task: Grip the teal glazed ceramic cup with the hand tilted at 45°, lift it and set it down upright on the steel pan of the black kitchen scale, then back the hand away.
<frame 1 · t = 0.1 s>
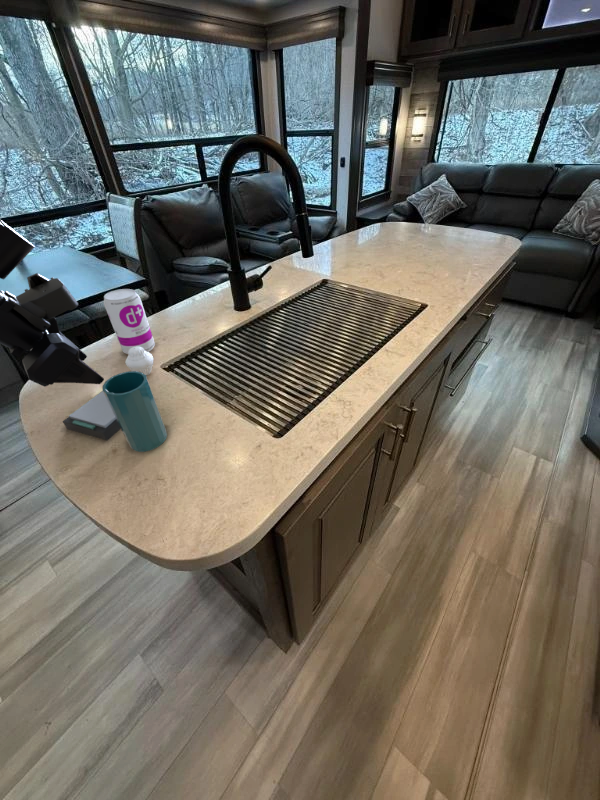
hand: (93, 369, 54), 15 cm above the worktop, tool tilted 35°, fingers open, 9 cm apart
cup: (148, 438, 62), on the worktop
scale: (110, 415, 68), on the worktop
supplement can: (139, 349, 89), on the worktop
white frosted cupcake: (144, 373, 80), on the worktop
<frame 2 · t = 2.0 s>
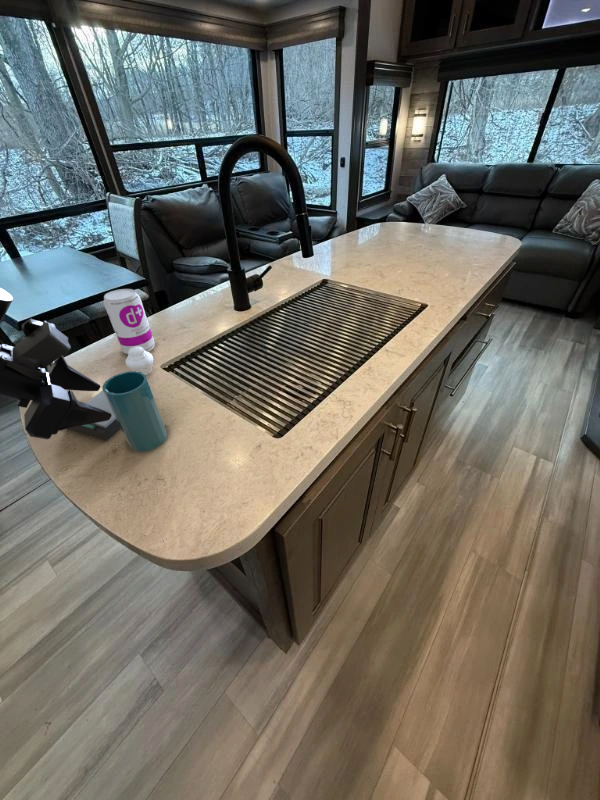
hand: (104, 401, 54), 11 cm above the worktop, tool tilted 45°, fingers open, 9 cm apart
nothing on the worktop moved.
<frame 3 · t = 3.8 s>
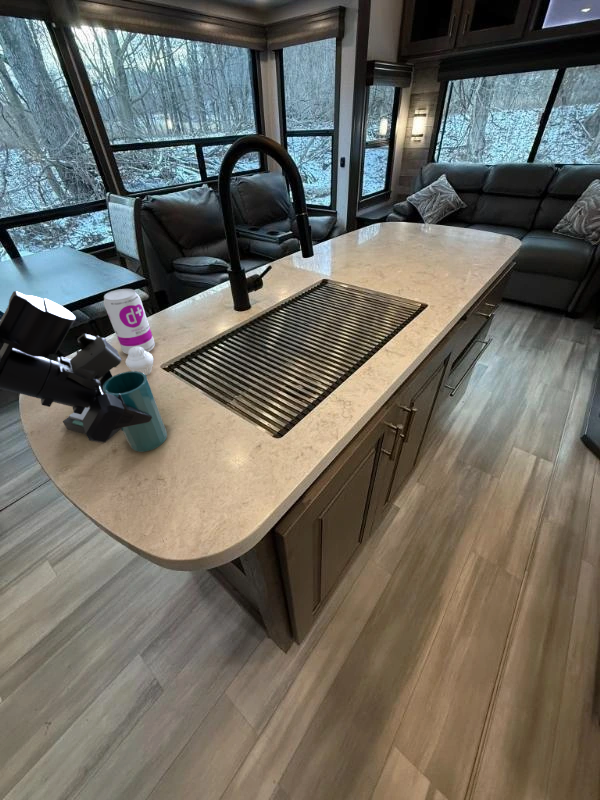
hand: (145, 408, 59), 7 cm above the worktop, tool tilted 45°, fingers closed on cup, 7 cm apart
cup: (148, 438, 62), on the worktop, touching gripper
everything else where it was.
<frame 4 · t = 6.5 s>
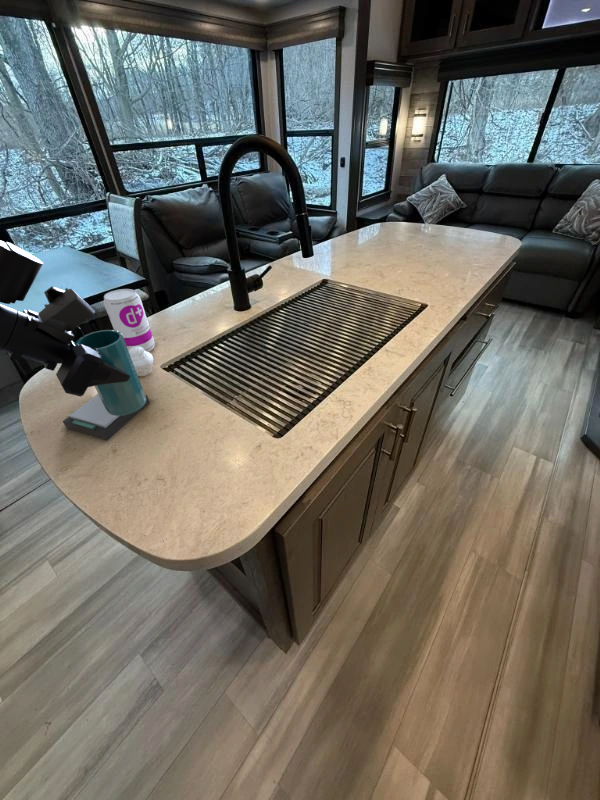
hand: (121, 369, 56), 13 cm above the worktop, tool tilted 45°, fingers closed on cup, 7 cm apart
cup: (126, 403, 60), point 7 cm above the worktop, touching gripper
everything else where it was.
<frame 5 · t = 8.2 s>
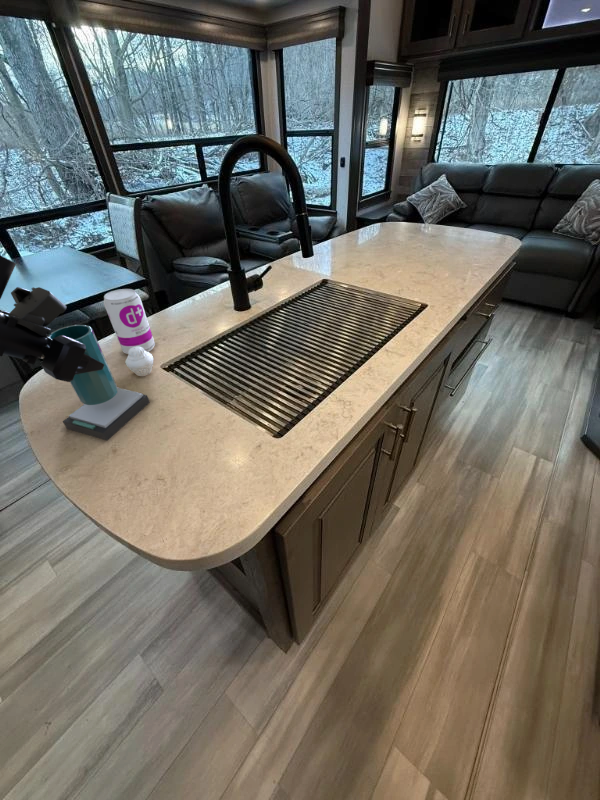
hand: (92, 361, 61), 12 cm above the worktop, tool tilted 45°, fingers closed on cup, 7 cm apart
cup: (99, 394, 64), point 5 cm above the worktop, touching gripper
everything else where it was.
when the fingers open (9 cm above the worktop, at t = 9.6 s): cup stays where it is, resting on scale.
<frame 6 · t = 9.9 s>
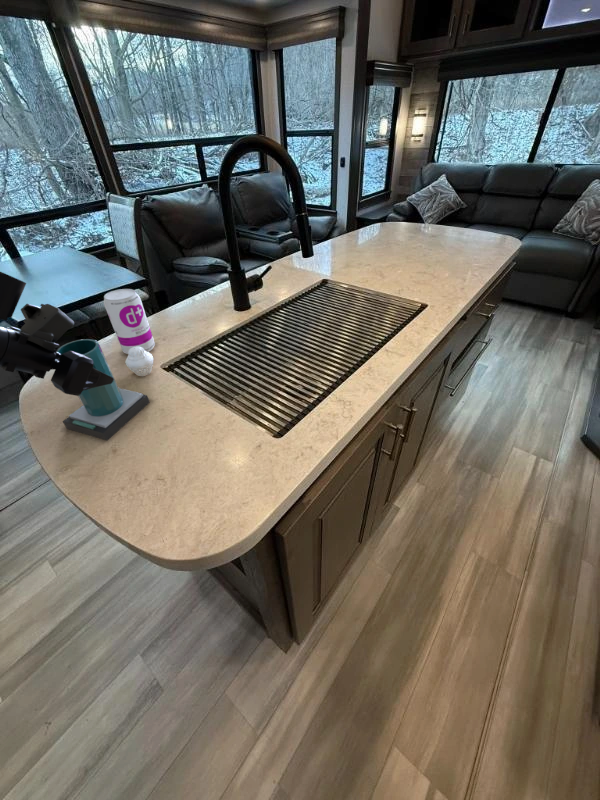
hand: (98, 372, 63), 10 cm above the worktop, tool tilted 45°, fingers open, 9 cm apart
cup: (105, 405, 66), point 3 cm above the worktop, touching scale
everything else where it was.
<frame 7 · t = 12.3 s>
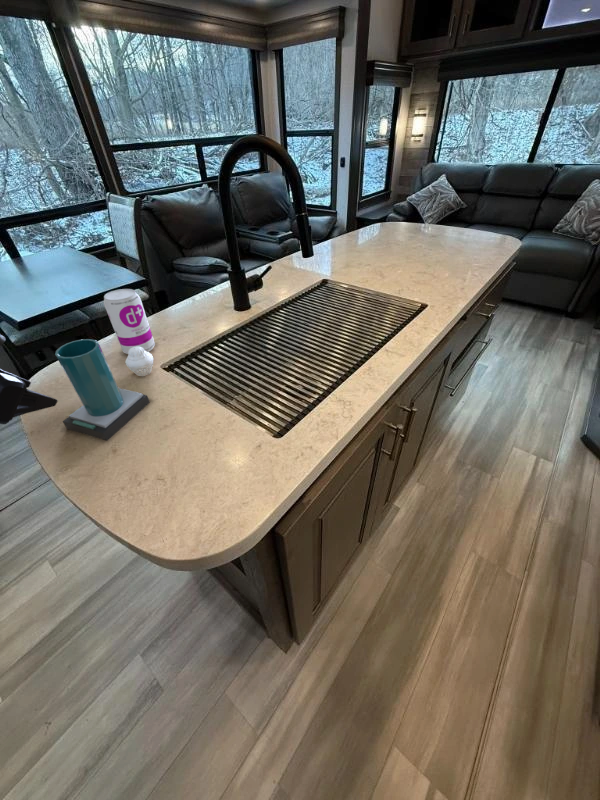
hand: (42, 393, 56), 11 cm above the worktop, tool tilted 45°, fingers open, 9 cm apart
nothing on the worktop moved.
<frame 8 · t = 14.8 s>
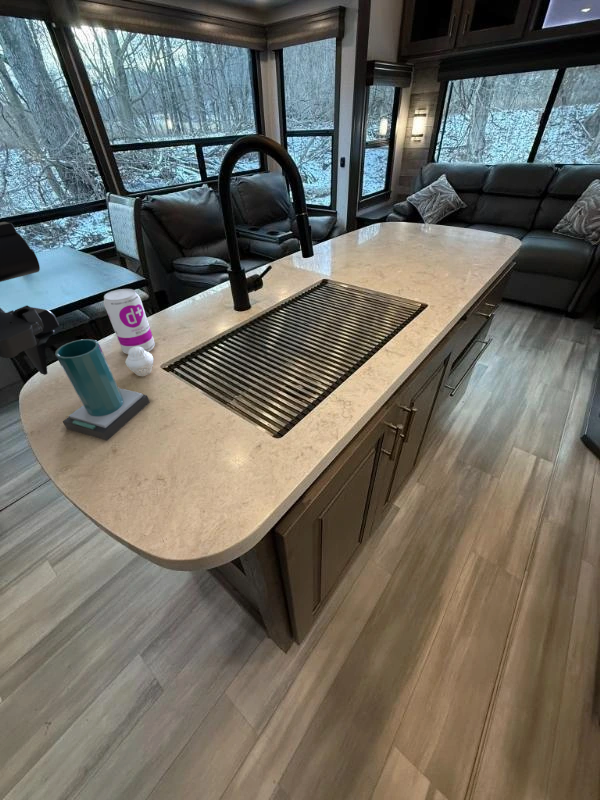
hand: (18, 389, 53), 13 cm above the worktop, tool pointing down, fingers open, 9 cm apart
nothing on the worktop moved.
at the end: cup inside the target area on the scale (0.5 cm from its centre), point 2.6 cm above the scale's base; cup tilted 0°; the gripper is holding nothing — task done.
